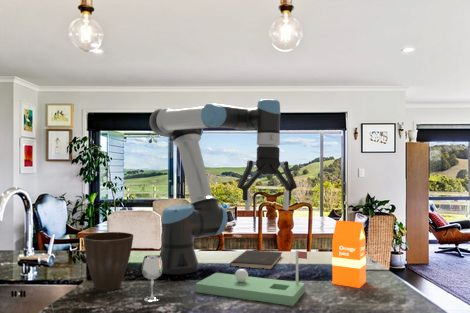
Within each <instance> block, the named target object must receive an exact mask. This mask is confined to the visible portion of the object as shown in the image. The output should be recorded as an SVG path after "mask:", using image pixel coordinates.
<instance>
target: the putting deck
mask: <svg viewBox="0 0 470 313" xmlns="http://www.w3.org/2000/svg"><path fill="white" fill-rule="evenodd" d="M299 259H303V260H304V259H306V260H307V259H308V252H307V251H299V250H298V249H297V250H295V281H290V280H284V279H283V280H282V279H274V278H272V279H271V278H264V277H255V276H249V275H248V278H247V280H246V281H245V282H238V281H237V280H236V278H235V274H230V273H222V272H215V273H213V274H211V275H208V276H207V277H205V278H203V279H202V280H200V281H198V282H196V283H195V293H201V294H207V295H215V296H220V297H227V298H228V297H229V298H236V299H242V300H243V299H244V300H248V301H249V300H250V301H257V302H264V303H270V304H271V303H272V304H279V305H286V306H294V305H296V303H297V302H298V301H299V300H300V298H301V297H302V296H303V294H304V293H305V292H306V282H300V281H299Z"/></svg>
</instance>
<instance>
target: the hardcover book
mask: <svg viewBox="0 0 470 313" xmlns="http://www.w3.org/2000/svg"><path fill="white" fill-rule="evenodd" d="M282 254H283V251H282V252H280V251H266V250H265V251H264V250H254V249H253V250H251V249H250V250H249V249H246V250H244V251H243V252H242V253H241V254H240V255H238V256H237V257H236V258H234V259H233V260H231V261H230V262H229V266H230V267H236V266H239V268H249V267H250V269H252V268H253V269H262V268H264V270H271V269H272V268H273V267H274V266H273V265H276V263H277V262H278V261H279V260H280V259H281V257H282Z"/></svg>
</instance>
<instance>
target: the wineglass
mask: <svg viewBox="0 0 470 313" xmlns="http://www.w3.org/2000/svg"><path fill="white" fill-rule="evenodd" d="M159 255H160V254H150V255H144V257H143V260H142V264H141V273H142V276H143V277H144V278H146V279H148V280H150V287H151V289H150V292H151V294H150V296H147V297H145V298H144V299H143V301H144V302H146V303H147V302H148V303H154V302H158V301H160V299H161V298H160V296H155V295H154V285H155V281H154V280H157V279H158V278H159V277H161V276H162V275H163V273H162V270H163V265H162V260H161V256H159Z"/></svg>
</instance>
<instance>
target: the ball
mask: <svg viewBox="0 0 470 313" xmlns="http://www.w3.org/2000/svg"><path fill="white" fill-rule="evenodd" d="M234 275H235V278H236V280H237V281H238V282H245V281H246V280H247V278H248V276H249V273H248V271H247V270H246V269H244V268H238V269H237V270H236V271H235V273H234Z"/></svg>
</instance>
